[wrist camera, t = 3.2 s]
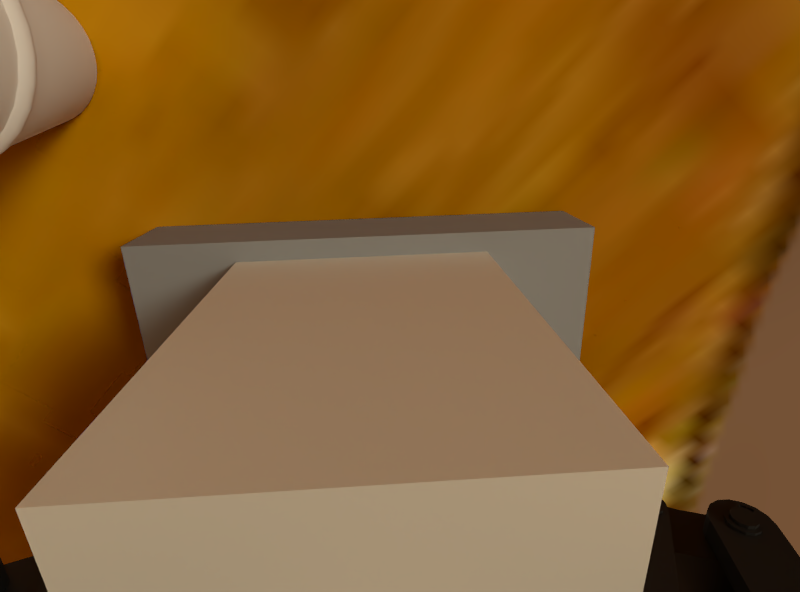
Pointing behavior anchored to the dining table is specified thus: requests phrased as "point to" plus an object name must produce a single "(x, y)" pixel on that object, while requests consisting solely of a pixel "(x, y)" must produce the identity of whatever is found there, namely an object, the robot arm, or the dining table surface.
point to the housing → (354, 446)
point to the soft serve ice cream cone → (41, 68)
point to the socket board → (495, 233)
